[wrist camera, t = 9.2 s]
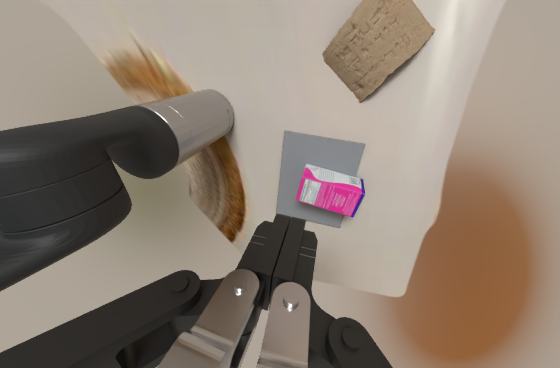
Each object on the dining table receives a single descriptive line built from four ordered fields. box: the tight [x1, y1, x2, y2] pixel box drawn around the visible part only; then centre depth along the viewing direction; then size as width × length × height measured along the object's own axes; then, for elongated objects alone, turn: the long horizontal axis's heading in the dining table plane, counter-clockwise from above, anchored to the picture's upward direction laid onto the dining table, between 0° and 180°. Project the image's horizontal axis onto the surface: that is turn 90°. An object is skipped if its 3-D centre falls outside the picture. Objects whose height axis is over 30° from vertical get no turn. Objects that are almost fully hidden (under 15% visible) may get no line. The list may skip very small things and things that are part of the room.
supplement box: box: [296, 164, 365, 217], centre depth 42 cm, size 6×6×12 cm
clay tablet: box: [322, 0, 435, 102], centre depth 32 cm, size 14×10×3 cm
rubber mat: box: [276, 131, 365, 228], centre depth 46 cm, size 15×20×1 cm
